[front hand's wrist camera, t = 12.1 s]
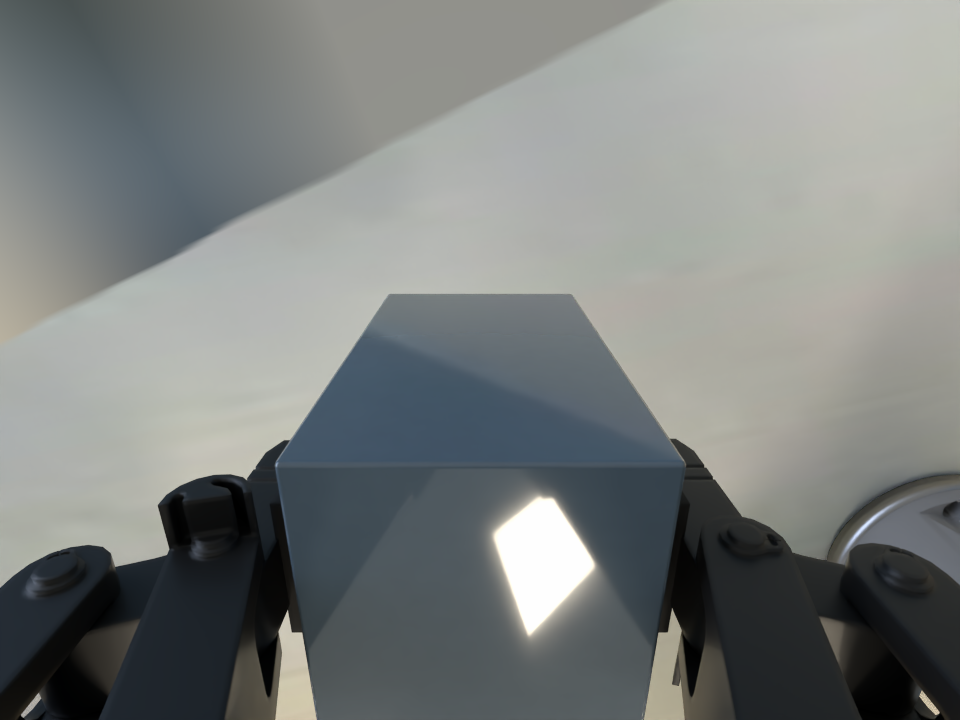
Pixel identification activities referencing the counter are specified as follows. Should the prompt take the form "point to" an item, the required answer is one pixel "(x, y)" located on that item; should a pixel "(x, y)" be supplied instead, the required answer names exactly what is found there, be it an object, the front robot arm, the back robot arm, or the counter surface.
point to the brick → (480, 518)
